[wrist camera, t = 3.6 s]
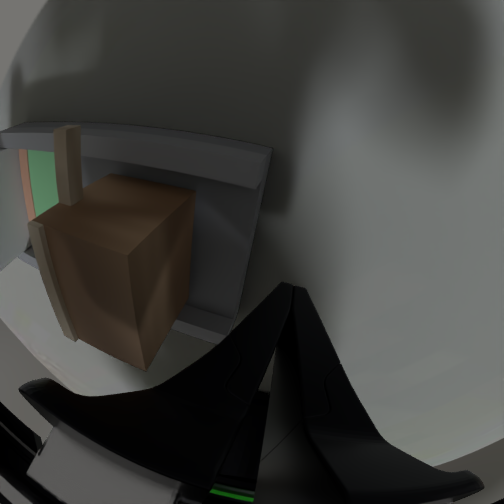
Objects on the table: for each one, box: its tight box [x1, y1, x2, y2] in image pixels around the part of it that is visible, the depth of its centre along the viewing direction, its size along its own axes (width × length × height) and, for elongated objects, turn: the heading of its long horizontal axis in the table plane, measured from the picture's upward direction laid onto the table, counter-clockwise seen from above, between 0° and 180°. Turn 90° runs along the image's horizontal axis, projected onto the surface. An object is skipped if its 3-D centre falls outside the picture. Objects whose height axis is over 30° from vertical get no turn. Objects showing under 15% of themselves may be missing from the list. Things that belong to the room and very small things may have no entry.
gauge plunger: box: [27, 125, 196, 371], centre depth 8 cm, size 4×7×4 cm, turn 170°
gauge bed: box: [0, 122, 273, 344], centre depth 10 cm, size 14×8×4 cm, turn 80°
